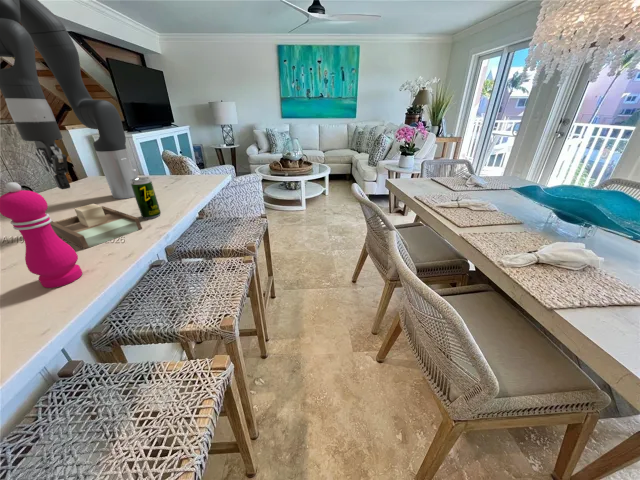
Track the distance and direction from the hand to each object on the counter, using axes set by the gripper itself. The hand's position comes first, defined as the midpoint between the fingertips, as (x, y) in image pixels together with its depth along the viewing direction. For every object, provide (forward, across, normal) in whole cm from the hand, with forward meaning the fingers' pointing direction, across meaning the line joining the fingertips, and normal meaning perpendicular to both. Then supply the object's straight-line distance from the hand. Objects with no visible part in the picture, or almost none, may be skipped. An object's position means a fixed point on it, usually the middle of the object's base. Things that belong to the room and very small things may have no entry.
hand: (64, 188), depth 73 cm
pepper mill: (+12, -29, +14) cm, 35 cm away
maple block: (+9, -9, -1) cm, 12 cm away
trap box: (+11, -8, -1) cm, 14 cm away
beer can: (+11, -11, -15) cm, 22 cm away
